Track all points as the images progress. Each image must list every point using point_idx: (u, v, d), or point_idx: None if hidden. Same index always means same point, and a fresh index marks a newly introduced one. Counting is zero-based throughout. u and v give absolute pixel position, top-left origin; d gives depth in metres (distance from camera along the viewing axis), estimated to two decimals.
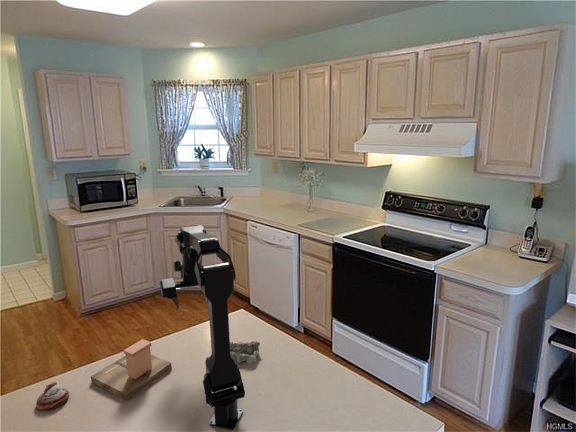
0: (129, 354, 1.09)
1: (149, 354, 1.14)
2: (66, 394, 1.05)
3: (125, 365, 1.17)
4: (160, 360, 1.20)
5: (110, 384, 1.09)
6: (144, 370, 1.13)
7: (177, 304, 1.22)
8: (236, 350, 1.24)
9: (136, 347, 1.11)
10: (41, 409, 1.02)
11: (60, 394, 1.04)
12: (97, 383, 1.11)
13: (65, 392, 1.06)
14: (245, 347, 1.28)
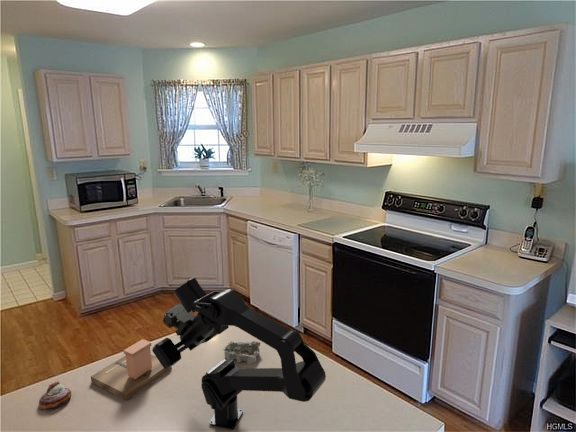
0: (129, 354, 1.09)
1: (149, 354, 1.14)
2: (69, 394, 1.06)
3: (125, 365, 1.17)
4: None
5: (110, 384, 1.09)
6: (144, 370, 1.13)
7: None
8: (236, 350, 1.24)
9: (136, 347, 1.11)
10: (44, 408, 1.02)
11: (63, 394, 1.04)
12: (97, 383, 1.11)
13: (68, 391, 1.06)
14: (246, 347, 1.28)
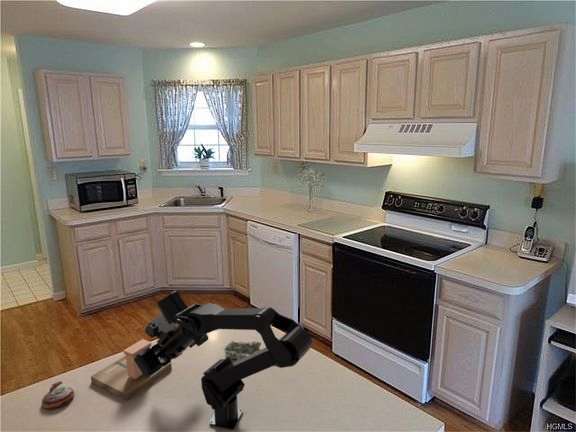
0: (129, 354, 1.09)
1: None
2: (71, 393, 1.06)
3: (125, 365, 1.17)
4: None
5: (110, 384, 1.09)
6: None
7: None
8: (237, 349, 1.25)
9: (136, 347, 1.11)
10: (46, 408, 1.02)
11: (65, 393, 1.05)
12: (97, 383, 1.11)
13: (70, 391, 1.06)
14: (247, 347, 1.28)
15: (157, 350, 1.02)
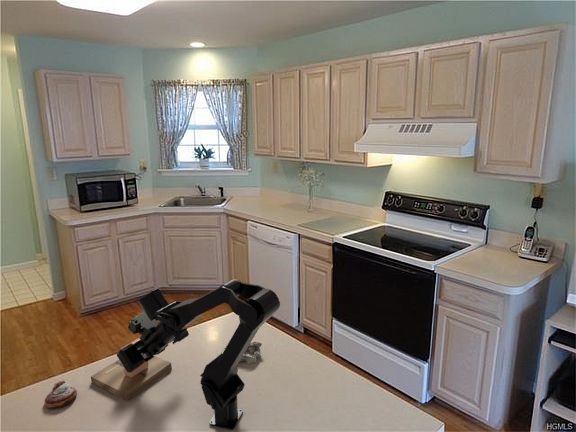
0: None
1: None
2: (74, 393, 1.06)
3: None
4: (160, 360, 1.20)
5: (110, 384, 1.09)
6: (141, 368, 1.14)
7: None
8: None
9: None
10: (49, 407, 1.02)
11: (68, 393, 1.05)
12: (97, 383, 1.11)
13: (73, 390, 1.06)
14: (248, 347, 1.29)
15: (140, 346, 1.05)
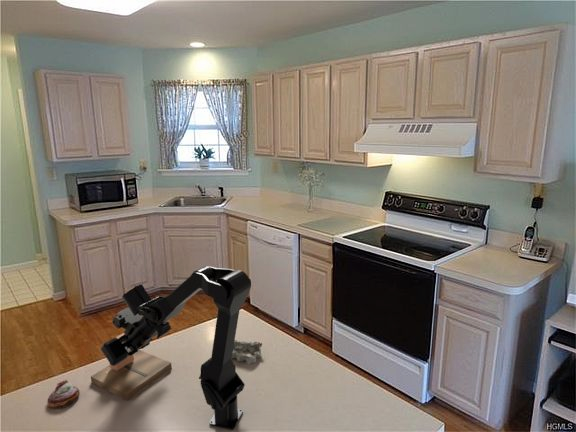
0: None
1: None
2: (77, 392, 1.06)
3: None
4: (160, 360, 1.20)
5: (110, 384, 1.09)
6: (126, 362, 1.17)
7: None
8: (238, 349, 1.25)
9: None
10: (52, 407, 1.02)
11: (71, 392, 1.05)
12: (97, 383, 1.11)
13: (76, 390, 1.06)
14: (248, 347, 1.29)
15: (124, 340, 1.08)
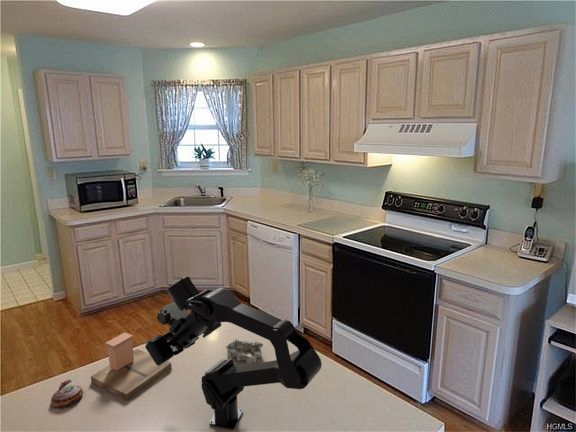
0: (111, 346, 1.13)
1: (131, 347, 1.18)
2: (80, 392, 1.06)
3: None
4: None
5: (110, 384, 1.09)
6: (126, 362, 1.17)
7: None
8: (238, 348, 1.25)
9: (118, 340, 1.15)
10: (56, 406, 1.03)
11: (74, 392, 1.05)
12: (97, 383, 1.11)
13: (79, 390, 1.07)
14: (250, 347, 1.29)
15: (169, 338, 0.99)
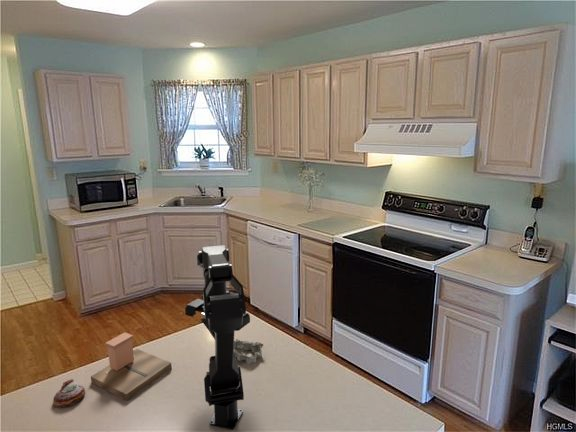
0: (111, 346, 1.13)
1: (131, 347, 1.18)
2: (82, 391, 1.07)
3: None
4: (160, 360, 1.20)
5: (110, 384, 1.09)
6: (126, 362, 1.17)
7: (213, 335, 1.10)
8: (239, 348, 1.25)
9: (118, 340, 1.15)
10: (58, 406, 1.03)
11: (77, 391, 1.05)
12: (97, 383, 1.11)
13: (81, 389, 1.07)
14: (250, 347, 1.29)
15: None
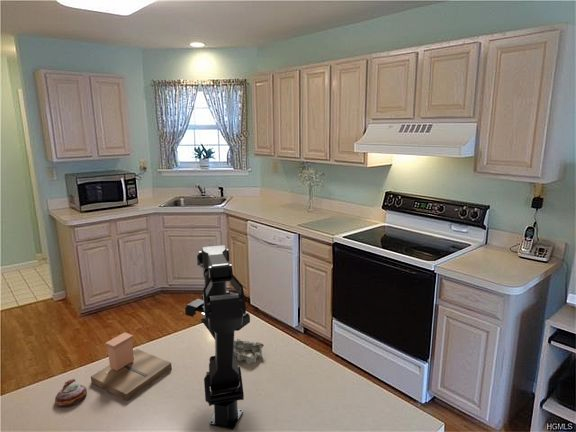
0: (111, 346, 1.13)
1: (131, 347, 1.18)
2: (84, 391, 1.07)
3: None
4: (160, 360, 1.20)
5: (110, 384, 1.09)
6: (126, 362, 1.17)
7: (213, 335, 1.10)
8: (239, 348, 1.25)
9: (118, 340, 1.15)
10: (60, 405, 1.03)
11: (78, 391, 1.05)
12: (97, 383, 1.11)
13: (83, 389, 1.07)
14: (251, 347, 1.29)
15: None
